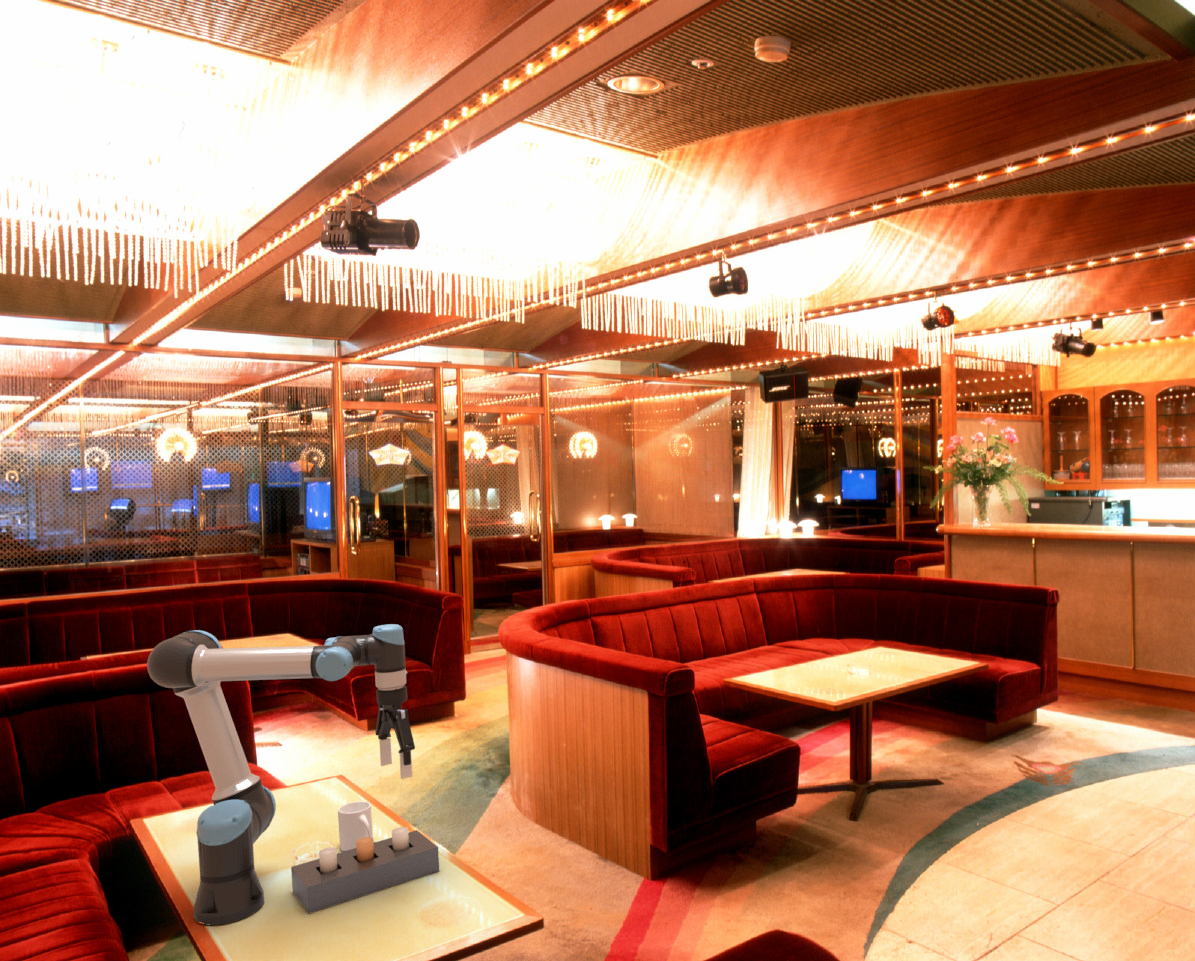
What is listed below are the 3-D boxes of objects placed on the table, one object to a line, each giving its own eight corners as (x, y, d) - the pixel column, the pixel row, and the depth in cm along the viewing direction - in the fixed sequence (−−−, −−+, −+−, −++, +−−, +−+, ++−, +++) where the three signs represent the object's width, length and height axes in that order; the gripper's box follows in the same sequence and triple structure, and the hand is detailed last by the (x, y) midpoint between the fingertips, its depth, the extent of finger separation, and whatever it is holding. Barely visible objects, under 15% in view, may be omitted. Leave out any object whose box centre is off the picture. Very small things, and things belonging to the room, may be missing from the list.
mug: (355, 859, 220) (353, 818, 221) (334, 847, 229) (332, 808, 229) (385, 848, 226) (382, 808, 226) (363, 837, 235) (361, 798, 235)
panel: (308, 913, 193) (306, 887, 193) (292, 891, 204) (291, 866, 204) (439, 871, 211) (438, 846, 211) (418, 852, 222) (416, 830, 222)
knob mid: (360, 865, 205) (359, 845, 205) (355, 860, 208) (354, 840, 208) (376, 861, 207) (375, 840, 207) (371, 855, 210) (369, 835, 210)
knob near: (322, 877, 200) (321, 856, 200) (318, 871, 203) (316, 850, 203) (339, 872, 202) (338, 851, 202) (334, 866, 205) (333, 845, 205)
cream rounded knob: (396, 855, 210) (395, 834, 210) (390, 849, 213) (389, 829, 213) (411, 850, 212) (410, 830, 212) (405, 845, 215) (404, 825, 215)
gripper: (425, 691, 206) (430, 779, 206) (387, 676, 226) (392, 756, 226) (395, 697, 201) (400, 787, 201) (360, 681, 222) (364, 762, 222)
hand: (396, 770), depth 214 cm, fingers open, 13 cm apart
